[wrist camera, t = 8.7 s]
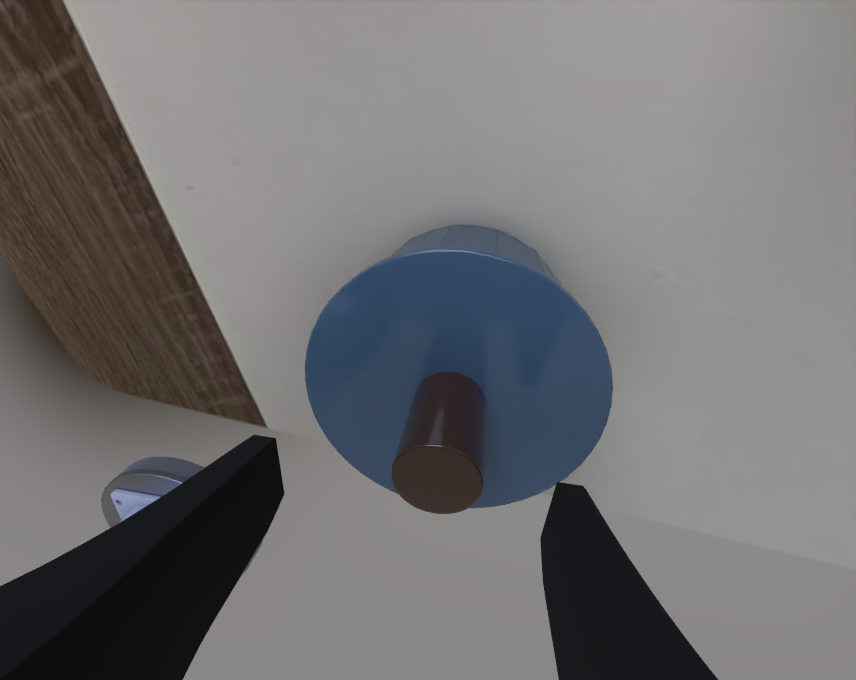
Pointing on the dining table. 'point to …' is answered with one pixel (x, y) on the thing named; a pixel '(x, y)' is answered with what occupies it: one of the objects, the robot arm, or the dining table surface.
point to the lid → (458, 378)
